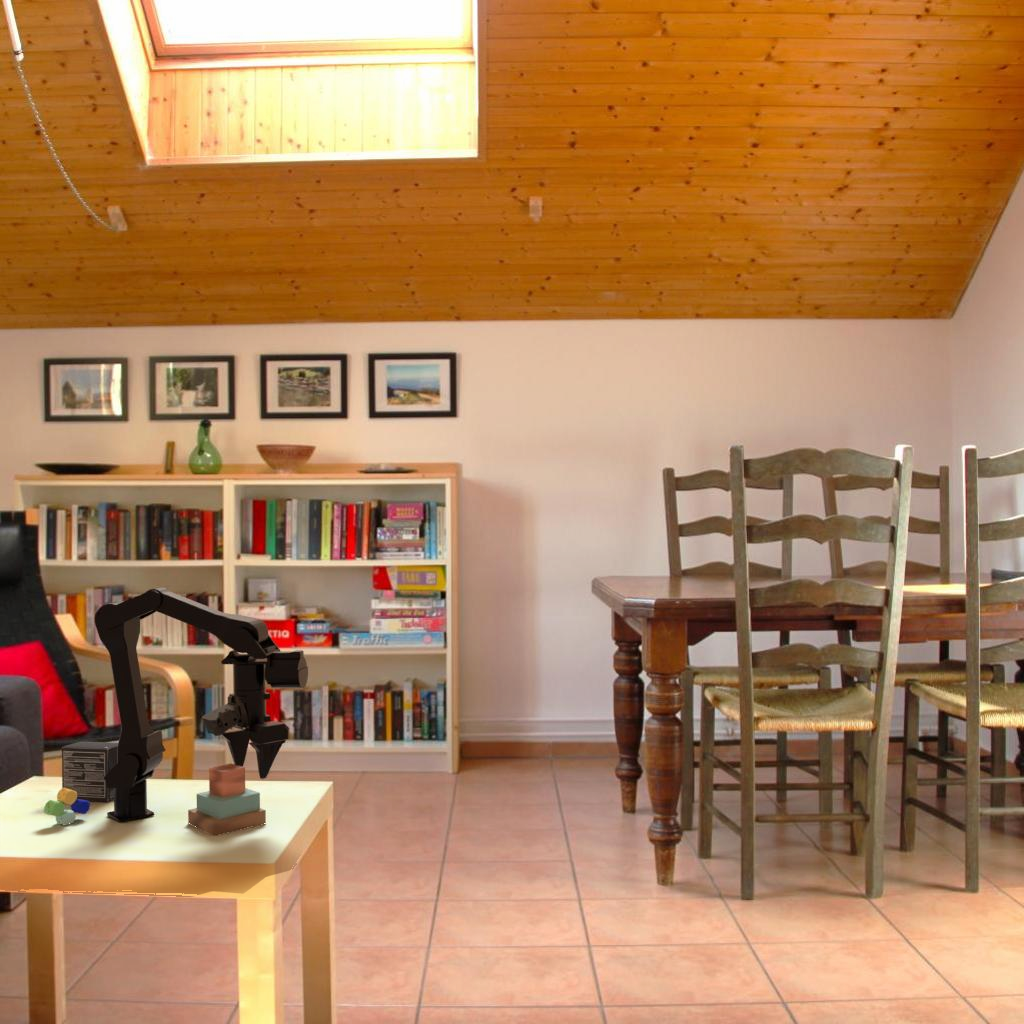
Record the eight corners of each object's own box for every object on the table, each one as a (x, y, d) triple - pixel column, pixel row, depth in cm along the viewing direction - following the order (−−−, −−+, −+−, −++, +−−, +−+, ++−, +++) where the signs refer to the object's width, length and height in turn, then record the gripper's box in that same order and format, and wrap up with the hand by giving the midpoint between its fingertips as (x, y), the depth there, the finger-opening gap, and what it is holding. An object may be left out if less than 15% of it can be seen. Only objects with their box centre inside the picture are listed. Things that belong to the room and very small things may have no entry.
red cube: (209, 793, 188) (209, 768, 188) (231, 788, 191) (230, 763, 191) (223, 797, 185) (223, 772, 185) (245, 792, 188) (244, 767, 188)
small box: (128, 794, 208) (127, 741, 208) (108, 803, 202) (107, 749, 202) (81, 791, 211) (80, 739, 211) (60, 800, 204) (59, 746, 204)
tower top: (196, 810, 187) (196, 793, 187) (236, 801, 193) (236, 784, 193) (219, 819, 182) (219, 802, 182) (260, 809, 187) (259, 792, 187)
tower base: (188, 826, 188) (188, 809, 188) (239, 815, 194) (239, 799, 194) (213, 839, 180) (213, 821, 180) (265, 827, 187) (265, 810, 187)
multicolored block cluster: (83, 816, 193) (82, 781, 193) (91, 818, 192) (91, 783, 192) (42, 827, 187) (42, 791, 187) (50, 829, 185) (50, 793, 185)
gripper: (185, 687, 192) (186, 772, 192) (232, 700, 178) (233, 791, 178) (241, 680, 199) (242, 762, 199) (290, 692, 186) (291, 780, 185)
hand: (250, 773), depth 190 cm, fingers open, 9 cm apart
